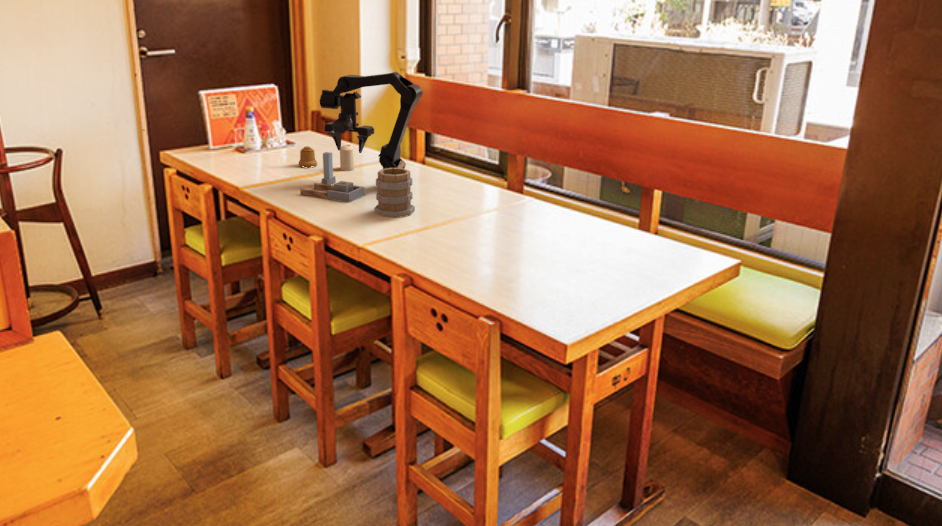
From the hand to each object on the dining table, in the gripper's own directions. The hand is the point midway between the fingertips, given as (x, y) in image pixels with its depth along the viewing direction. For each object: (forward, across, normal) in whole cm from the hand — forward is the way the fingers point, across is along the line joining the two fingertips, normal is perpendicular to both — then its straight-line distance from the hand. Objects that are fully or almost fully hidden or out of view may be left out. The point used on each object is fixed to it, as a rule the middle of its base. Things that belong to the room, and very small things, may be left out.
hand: (349, 151), depth 284 cm
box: (+12, +9, -18) cm, 23 cm away
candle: (+12, -12, +17) cm, 24 cm away
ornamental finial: (+12, -29, +14) cm, 34 cm away
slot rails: (+12, -2, -18) cm, 22 cm away
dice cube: (+12, +8, -18) cm, 23 cm away
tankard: (+12, +32, -22) cm, 41 cm away
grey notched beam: (+12, -6, -6) cm, 15 cm away
